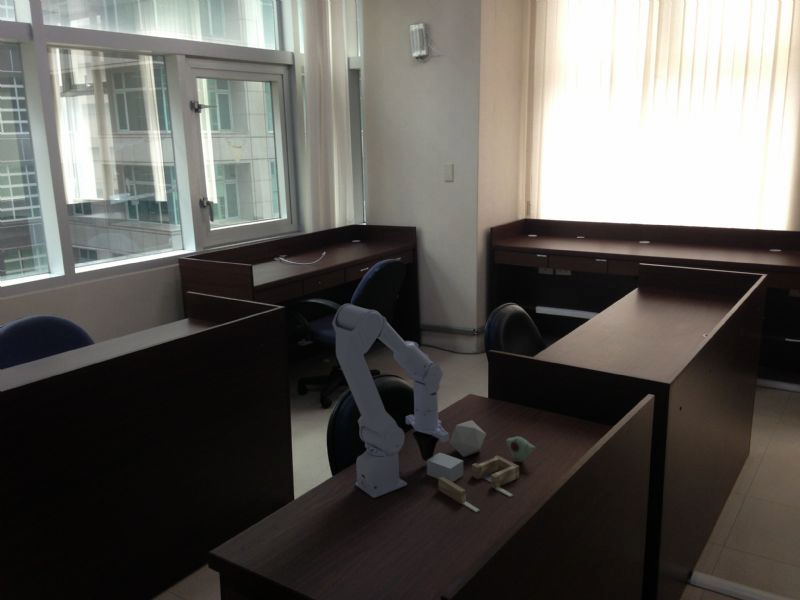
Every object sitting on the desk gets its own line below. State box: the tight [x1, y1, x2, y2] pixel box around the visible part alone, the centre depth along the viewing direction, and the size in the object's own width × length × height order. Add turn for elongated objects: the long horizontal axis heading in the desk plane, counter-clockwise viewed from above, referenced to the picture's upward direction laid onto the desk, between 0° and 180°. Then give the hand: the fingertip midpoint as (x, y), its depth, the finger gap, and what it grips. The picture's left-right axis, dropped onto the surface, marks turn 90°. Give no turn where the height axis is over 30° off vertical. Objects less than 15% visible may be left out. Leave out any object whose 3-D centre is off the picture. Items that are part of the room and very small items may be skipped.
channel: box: [437, 454, 520, 505], centre depth 157 cm, size 18×8×3 cm, turn 126°
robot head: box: [506, 435, 537, 463], centre depth 167 cm, size 8×4×7 cm, turn 46°
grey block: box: [426, 452, 464, 483], centre depth 162 cm, size 5×7×4 cm
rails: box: [461, 486, 514, 513], centre depth 151 cm, size 11×4×1 cm, turn 126°
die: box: [448, 419, 487, 458], centre depth 173 cm, size 8×9×10 cm
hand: (427, 459), depth 168 cm, fingers closed
